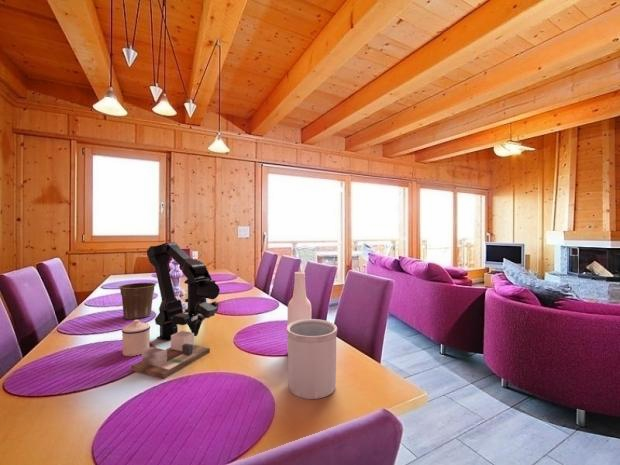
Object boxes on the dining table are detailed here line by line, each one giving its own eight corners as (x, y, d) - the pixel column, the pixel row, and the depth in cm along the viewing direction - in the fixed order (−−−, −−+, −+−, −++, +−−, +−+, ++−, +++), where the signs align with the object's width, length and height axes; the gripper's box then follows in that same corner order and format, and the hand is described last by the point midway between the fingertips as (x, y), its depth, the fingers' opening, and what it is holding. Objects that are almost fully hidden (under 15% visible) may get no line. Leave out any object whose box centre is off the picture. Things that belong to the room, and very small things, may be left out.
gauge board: (131, 370, 93) (131, 353, 93) (180, 346, 113) (180, 332, 112) (163, 378, 88) (164, 360, 88) (209, 352, 108) (209, 337, 107)
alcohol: (299, 346, 113) (300, 270, 113) (316, 353, 107) (316, 272, 107) (282, 353, 107) (282, 272, 107) (298, 361, 101) (299, 275, 101)
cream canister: (155, 349, 110) (155, 318, 110) (132, 358, 102) (132, 325, 101) (134, 343, 115) (134, 314, 115) (111, 352, 107) (111, 320, 106)
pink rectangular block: (170, 348, 106) (170, 335, 106) (181, 343, 110) (181, 330, 110) (192, 353, 102) (192, 339, 102) (202, 347, 107) (202, 334, 107)
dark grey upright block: (182, 353, 102) (182, 345, 102) (185, 352, 103) (185, 343, 103) (189, 355, 101) (189, 346, 100) (192, 353, 102) (192, 345, 102)
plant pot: (135, 311, 160) (135, 281, 159) (162, 312, 157) (162, 282, 157) (111, 320, 144) (111, 287, 143) (140, 322, 141) (140, 288, 141)
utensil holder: (296, 406, 75) (297, 339, 75) (279, 379, 89) (279, 322, 89) (346, 394, 81) (346, 331, 81) (322, 370, 95) (323, 316, 95)
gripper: (194, 303, 101) (194, 348, 101) (227, 292, 119) (227, 330, 119) (170, 300, 105) (170, 343, 105) (205, 290, 123) (205, 327, 123)
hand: (195, 335), depth 113 cm, fingers closed
